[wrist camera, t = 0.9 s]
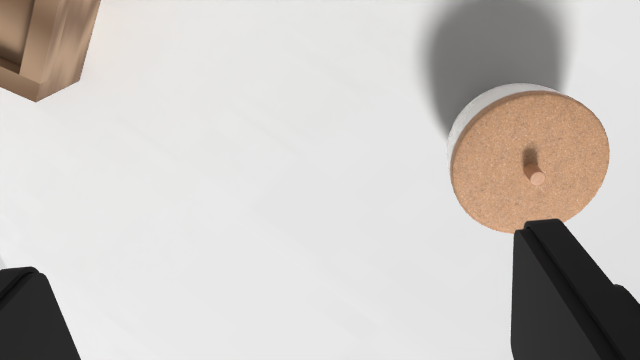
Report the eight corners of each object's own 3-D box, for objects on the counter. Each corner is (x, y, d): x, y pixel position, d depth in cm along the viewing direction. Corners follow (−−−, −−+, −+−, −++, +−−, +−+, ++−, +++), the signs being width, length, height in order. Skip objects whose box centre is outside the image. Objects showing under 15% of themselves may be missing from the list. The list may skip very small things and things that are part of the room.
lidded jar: (413, 164, 44) (429, 216, 36) (473, 47, 40) (507, 74, 31) (523, 206, 45) (564, 266, 37) (592, 97, 41) (657, 136, 32)
